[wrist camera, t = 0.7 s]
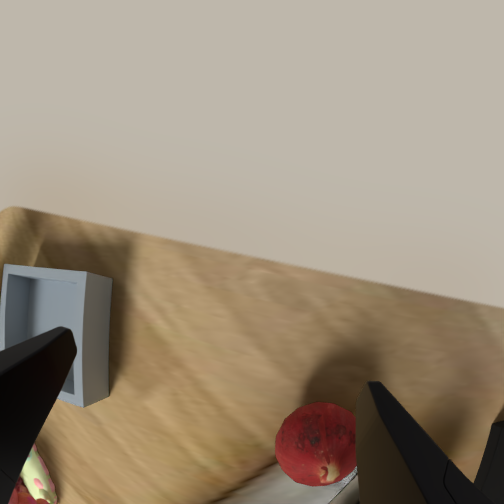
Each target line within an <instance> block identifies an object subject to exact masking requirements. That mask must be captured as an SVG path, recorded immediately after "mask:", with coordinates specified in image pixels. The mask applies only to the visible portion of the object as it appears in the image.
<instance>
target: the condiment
mask: <svg viewBox="0 0 504 504" xmlns="http://www.w3.org/2000/svg"><path fill="white" fill-rule="evenodd" d="M329 504H360V499H359V485H358V475H357V476H356V477H355V478H354V479H353V480H352V481H351V482H350V483H349V484H348V485H347V486H346V487H345V488H344V489H343V490H342V491H341V492H340V493H339V494H338V495H337V496H336V497H335V498H334V499H333V500H332V501H331V502H330V503H329Z"/></svg>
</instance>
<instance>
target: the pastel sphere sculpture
mask: <svg viewBox="0 0 504 504" xmlns="http://www.w3.org/2000/svg"><path fill="white" fill-rule="evenodd" d="M57 499H58V498H57V495H56V493H55V485H54V484H53V482H52V480H51V478H50V475H49V471H48V469H47V467H46V465H45V463H44V462H43V459H42V458H41V457H40V456H39V454H38V452H37V447H36V445H35V443H34V445H33V447H32V449H31V451H30V453H29V455H28V458H27V460H26V462H25V464H24V467H23V469H22V471H21V473H20V476H19V478H18V480H17V483H16V486H15V488H14V491H13V493H12V496H11V498H10V501H9V503H8V504H57Z"/></svg>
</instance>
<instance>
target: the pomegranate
mask: <svg viewBox="0 0 504 504" xmlns="http://www.w3.org/2000/svg"><path fill="white" fill-rule="evenodd" d="M355 441H356V417H355V416H354V415H353V414H352V412H350V411H348V410H346V409H344V408H342V407H340V406H338V405H336V404H334V403H323V402H314V403H311V404H308V405H305V406H302V407H299V408H297V409H296V410H295V411H294V412H293V413H292V414H290V415H289V416H288V417H287V418H286V419H285V420H284V422H283V424H282V426H281V428H280V430H279V432H278V434H277V436H276V445H275V454H276V458H277V460H278V462H279V464H280V466H281V468H282V470H283V471H284V472H285V473H286V474H287V475H288V476H289V477H290V478H291V479H293V480H294V481H295V482H297V483H301V484H305V485H308V486H327V485H330V484H333V483H335V482H338V481H341V480H342V479H343V478H345V477H346V476H347V475H348V474H350V473H351V472H352V471H353V470H354V469H355V467H356V466H357V462H356V450H355Z"/></svg>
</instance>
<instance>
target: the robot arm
mask: <svg viewBox="0 0 504 504" xmlns="http://www.w3.org/2000/svg"><path fill="white" fill-rule="evenodd" d="M76 355H77V346H76V343H75V339H74V336H73V332H72V331H71V329H69V328H66V327H63V326H59V327H56V328H54V329H52V330H49V331H47V332H44V333H42V334H40V335H37V336H35V337H32V338H30V339H28V340H25V341H23V342H21V343H18V344H16V345H13V346H11V347H9V348H6V349H4V350H2V351H0V504H8V503H9V501H10V498H11V496H12V493H13V491H14V488H15V486H16V483H17V480H18V478H19V476H20V473H21V471H22V469H23V467H24V464H25V462H26V460H27V458H28V455H29V453H30V451H31V449H32V447H33V445H34V443H35V441H36V439H37V436H38V434H39V432H40V430H41V428H42V426H43V424H44V422H45V420H46V418H47V417H48V415H49V413H50V411H51V409H52V407H53V405H54V403H55V401H56V399H57V398H58V396H59V394H60V392H61V390H62V387H63V385H64V383H65V380H66V378H67V376H68V373H69V371H70V369H71V366H72V364H73V362H74V360H75V357H76ZM355 450H356V462H357V473H358V485H359V499H360V504H495V503H494V502H493V501H492V500H491V499H490V498H489V497H487V496H486V495H485V494H484V493H483V492H482V491H481V490H480V489H478V488H477V487H476V486H475V485H474V484H473V483H472V482H471V481H470V480H469V479H468V478H467V477H466V476H465V475H464V474H463V473H462V472H461V471H460V470H459V469H458V468H457V467H456V465H455V464H454V463H453V462H452V461H451V460H450V459H448V457H447V455H446V454H445V453H444V452H443V451H442V450H441V449H440V448H439V446H438V445H437V444H436V443H435V442H434V441H433V440H432V439H431V437H430V436H429V435H428V434H427V433H426V432H425V431H424V430H423V429H422V427H421V426H420V425H419V424H418V423H417V422H416V421H415V420H414V418H413V417H412V416H411V415H410V414H409V413H408V412H407V411H406V410H405V408H404V407H403V406H402V405H401V404H400V403H399V402H398V401H397V400H396V398H395V397H394V396H393V395H392V394H391V393H390V392H389V391H388V390H387V389H386V387H385V386H384V385H383V384H382V383H381V382H379V381H367V382H365V384H364V386H363V388H362V390H361V392H360V394H359V396H358V398H357V401H356V441H355Z"/></svg>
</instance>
